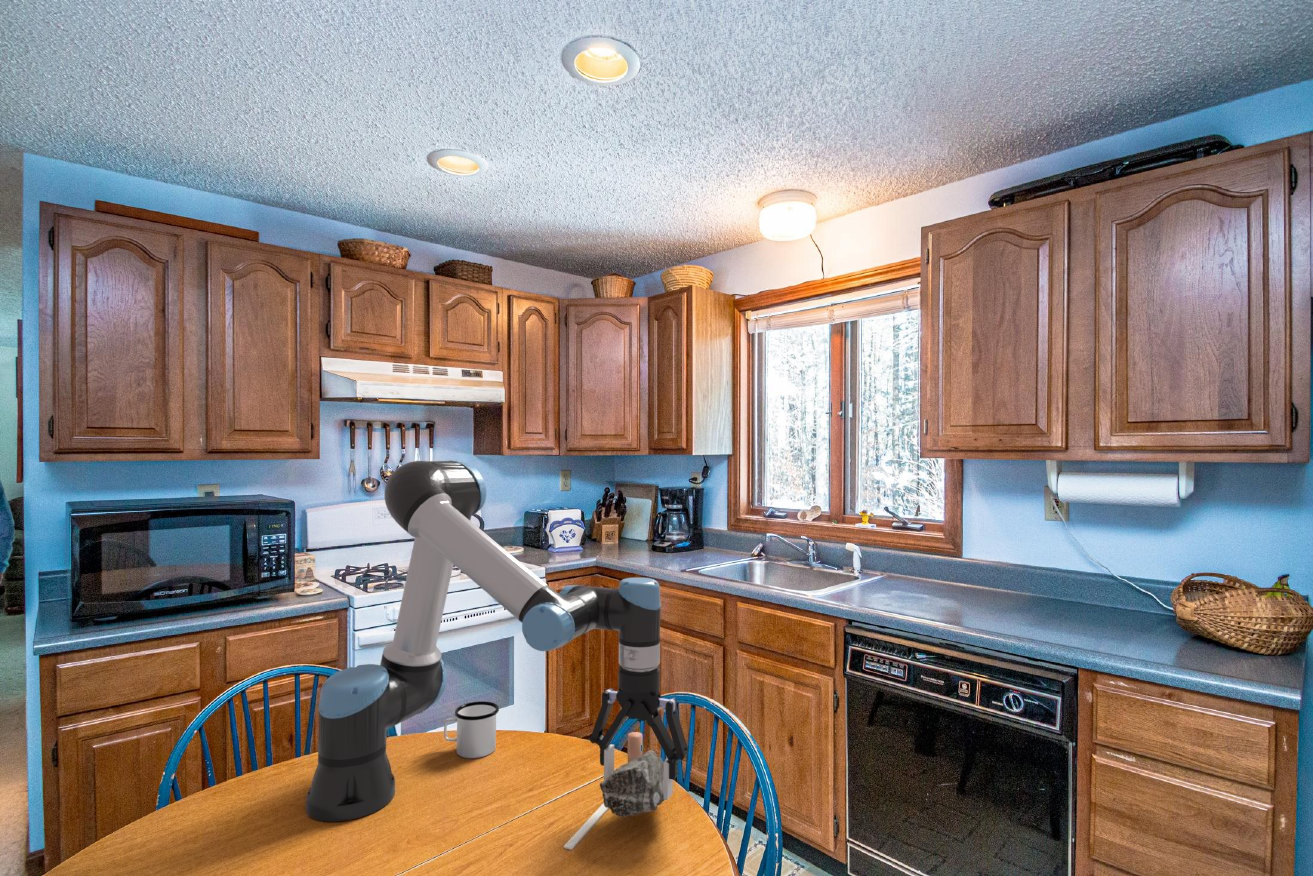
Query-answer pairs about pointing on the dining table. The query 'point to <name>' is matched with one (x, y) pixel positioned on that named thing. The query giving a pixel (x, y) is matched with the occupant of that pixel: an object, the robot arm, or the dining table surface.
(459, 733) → the mug
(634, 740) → the crank handle
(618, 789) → the rock
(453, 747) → the dining table surface
